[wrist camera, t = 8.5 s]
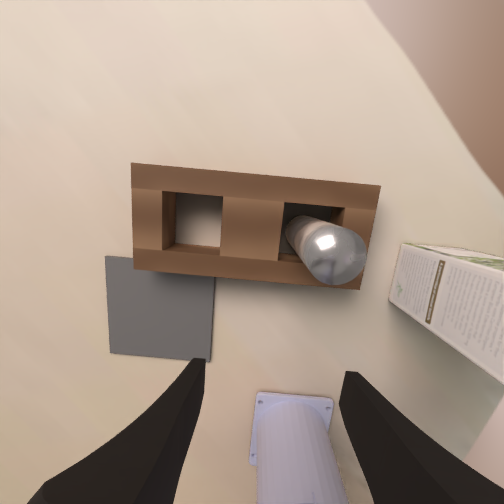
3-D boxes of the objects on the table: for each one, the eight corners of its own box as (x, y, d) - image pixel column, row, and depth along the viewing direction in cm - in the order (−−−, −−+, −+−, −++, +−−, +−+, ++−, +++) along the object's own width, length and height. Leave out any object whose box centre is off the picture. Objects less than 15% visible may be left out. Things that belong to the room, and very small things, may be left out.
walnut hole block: (345, 277, 21) (359, 290, 18) (150, 259, 21) (133, 269, 18) (362, 187, 20) (381, 185, 17) (149, 168, 20) (130, 162, 17)
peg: (312, 252, 21) (352, 291, 12) (280, 243, 21) (298, 275, 12) (324, 221, 20) (376, 237, 12) (292, 210, 20) (319, 219, 11)
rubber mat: (210, 360, 24) (209, 361, 23) (111, 351, 24) (110, 352, 23) (215, 265, 21) (214, 266, 21) (106, 255, 21) (104, 256, 21)
